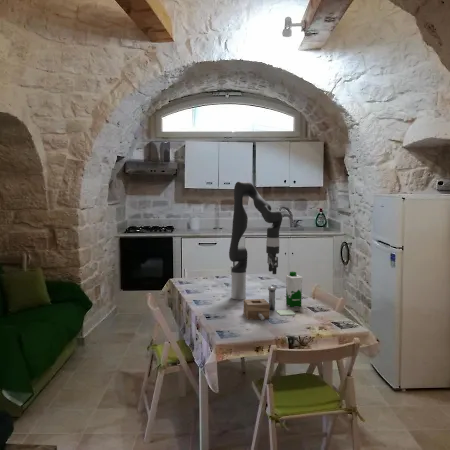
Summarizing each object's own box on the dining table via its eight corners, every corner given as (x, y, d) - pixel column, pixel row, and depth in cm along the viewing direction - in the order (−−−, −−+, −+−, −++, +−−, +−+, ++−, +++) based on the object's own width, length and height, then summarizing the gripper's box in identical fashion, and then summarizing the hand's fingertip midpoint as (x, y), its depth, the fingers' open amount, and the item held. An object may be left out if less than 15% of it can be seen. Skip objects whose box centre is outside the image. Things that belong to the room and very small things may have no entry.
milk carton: (297, 303, 288) (298, 271, 287) (303, 306, 280) (304, 274, 278) (284, 303, 286) (284, 271, 284) (290, 307, 277) (290, 274, 276)
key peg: (266, 308, 274) (267, 286, 273) (274, 308, 275) (274, 286, 274) (268, 311, 270) (269, 288, 269) (276, 310, 271) (276, 288, 269)
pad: (275, 311, 269) (275, 310, 269) (290, 310, 271) (290, 309, 271) (280, 315, 260) (280, 314, 260) (295, 315, 262) (295, 314, 262)
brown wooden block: (243, 313, 265) (243, 299, 264) (263, 312, 267) (264, 298, 266) (251, 324, 244) (251, 309, 243) (273, 323, 246) (273, 308, 245)
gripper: (263, 243, 275) (263, 270, 277) (269, 246, 261) (269, 275, 263) (275, 243, 277) (275, 270, 278) (282, 246, 263) (282, 275, 264)
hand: (272, 272), depth 271 cm, fingers open, 8 cm apart
